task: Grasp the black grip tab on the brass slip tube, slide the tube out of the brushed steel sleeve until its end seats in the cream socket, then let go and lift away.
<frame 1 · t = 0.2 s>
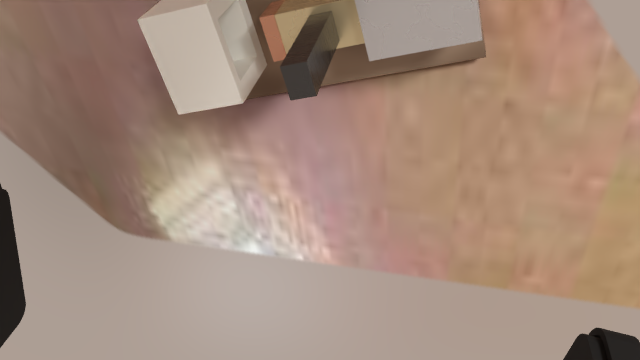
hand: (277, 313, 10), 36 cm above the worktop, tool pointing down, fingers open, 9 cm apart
base board: (326, 0, 44), on the worktop
slip tube: (357, 34, 36), point 9 cm above the worktop, slide at 0.0 cm
socket: (226, 22, 47), resting on base board
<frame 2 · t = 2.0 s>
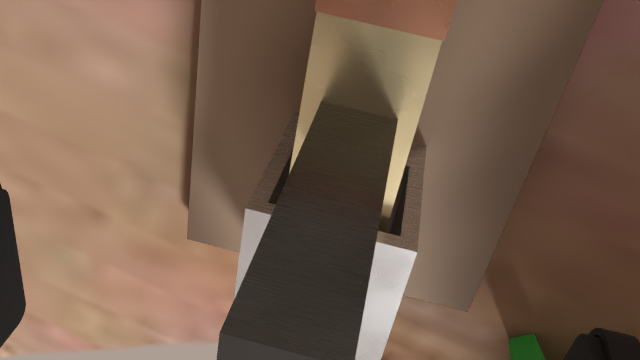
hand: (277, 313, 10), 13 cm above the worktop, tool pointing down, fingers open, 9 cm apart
sleeve: (345, 191, 24), resting on base board
base board: (385, 23, 20), on the worktop
slip tube: (319, 267, 15), point 9 cm above the worktop, slide at 0.0 cm
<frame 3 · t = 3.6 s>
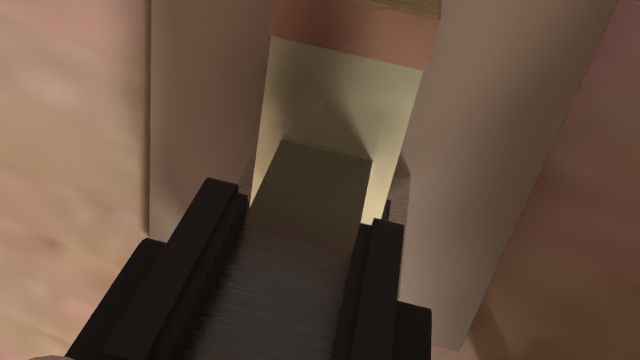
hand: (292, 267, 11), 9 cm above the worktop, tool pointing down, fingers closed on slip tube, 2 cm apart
sleeve: (323, 220, 22), resting on base board
base board: (363, 37, 18), on the worktop
slip tube: (280, 338, 13), point 9 cm above the worktop, slide at 0.0 cm, touching gripper
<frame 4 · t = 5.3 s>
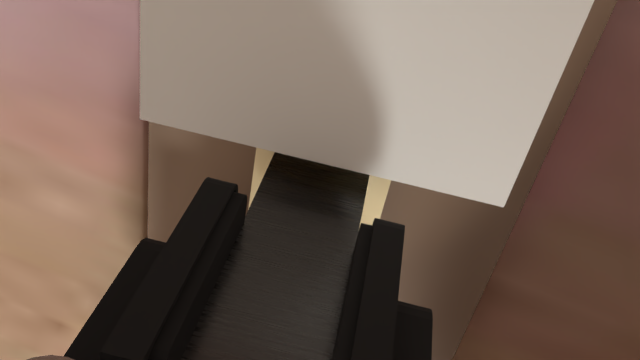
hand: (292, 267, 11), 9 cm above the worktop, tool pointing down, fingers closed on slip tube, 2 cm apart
base board: (330, 177, 21), on the worktop
slip tube: (280, 338, 13), point 9 cm above the worktop, slide at 5.1 cm, touching gripper
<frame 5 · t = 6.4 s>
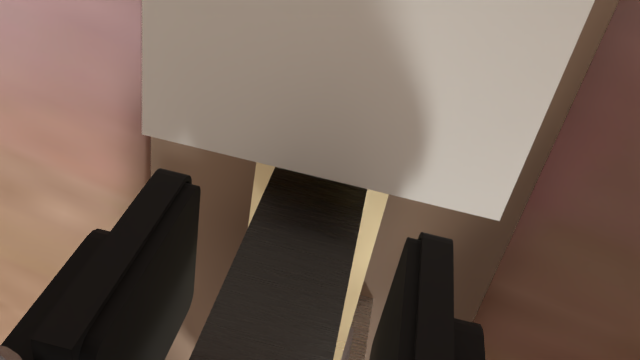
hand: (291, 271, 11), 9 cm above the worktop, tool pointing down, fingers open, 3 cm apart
sleeve: (300, 323, 25), resting on base board
base board: (331, 186, 21), on the worktop
slip tube: (279, 352, 13), point 9 cm above the worktop, slide at 5.0 cm
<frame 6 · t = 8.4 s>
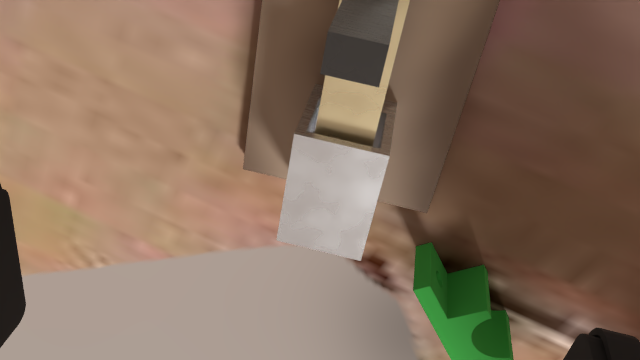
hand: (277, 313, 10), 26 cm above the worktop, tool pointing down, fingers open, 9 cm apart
pipe clamp: (469, 295, 44), on the worktop
sleeve: (347, 135, 38), resting on base board
base board: (371, 27, 34), on the worktop
slip tube: (358, 63, 26), point 9 cm above the worktop, slide at 5.0 cm
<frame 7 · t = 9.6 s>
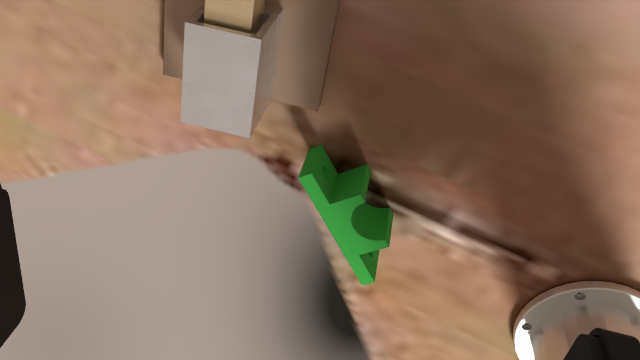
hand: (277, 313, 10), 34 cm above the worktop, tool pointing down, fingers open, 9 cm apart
pipe clamp: (359, 195, 51), on the worktop
sleeve: (248, 43, 45), resting on base board
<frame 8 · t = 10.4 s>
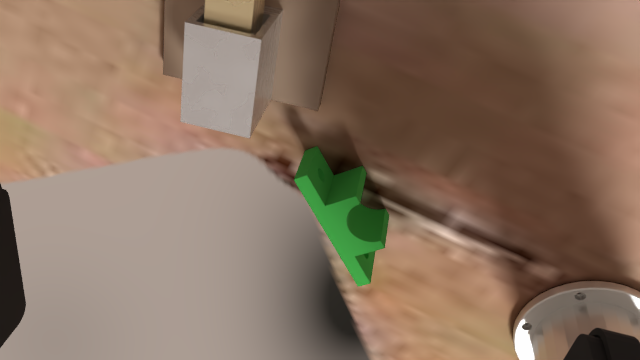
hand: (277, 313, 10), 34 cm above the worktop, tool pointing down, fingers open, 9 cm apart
pipe clamp: (355, 196, 51), on the worktop
sleeve: (248, 43, 45), resting on base board
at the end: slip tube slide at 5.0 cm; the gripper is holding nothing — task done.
